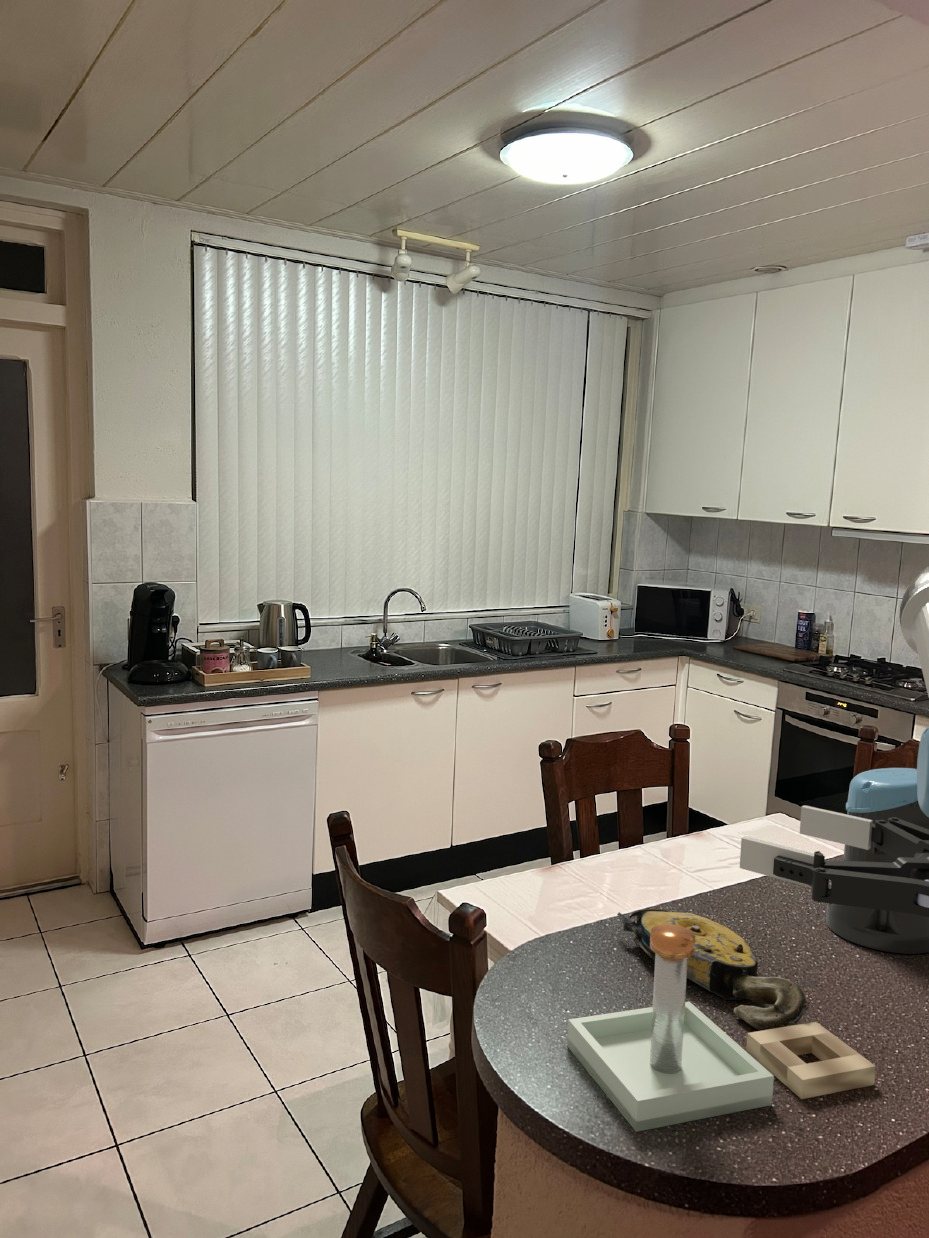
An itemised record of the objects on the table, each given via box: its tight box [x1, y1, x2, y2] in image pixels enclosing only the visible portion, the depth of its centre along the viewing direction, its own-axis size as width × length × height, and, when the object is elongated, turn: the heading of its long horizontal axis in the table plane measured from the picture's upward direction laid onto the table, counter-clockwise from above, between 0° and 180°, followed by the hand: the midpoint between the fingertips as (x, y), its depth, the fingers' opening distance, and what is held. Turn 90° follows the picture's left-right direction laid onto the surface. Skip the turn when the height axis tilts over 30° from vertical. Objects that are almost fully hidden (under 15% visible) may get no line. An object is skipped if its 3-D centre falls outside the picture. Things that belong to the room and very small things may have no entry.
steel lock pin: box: [650, 924, 695, 1074], centre depth 94 cm, size 4×4×14 cm
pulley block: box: [616, 908, 811, 1031], centre depth 116 cm, size 14×6×30 cm
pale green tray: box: [566, 1001, 775, 1133], centre depth 95 cm, size 15×15×3 cm
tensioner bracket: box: [745, 1021, 876, 1100], centre depth 97 cm, size 9×9×2 cm
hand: (773, 834), depth 86 cm, fingers open, 13 cm apart
